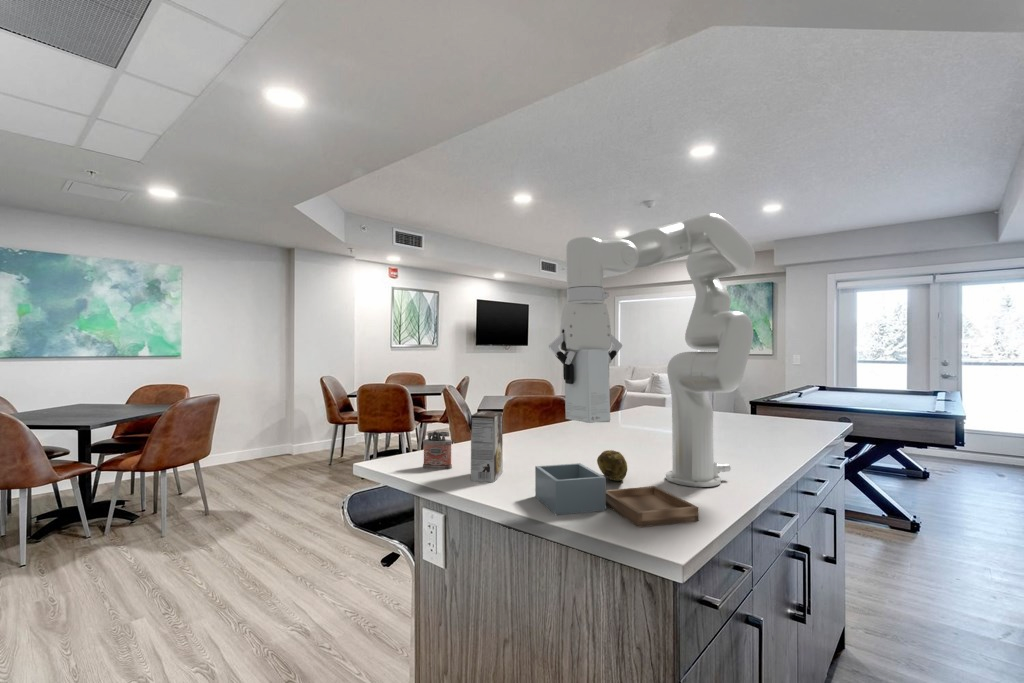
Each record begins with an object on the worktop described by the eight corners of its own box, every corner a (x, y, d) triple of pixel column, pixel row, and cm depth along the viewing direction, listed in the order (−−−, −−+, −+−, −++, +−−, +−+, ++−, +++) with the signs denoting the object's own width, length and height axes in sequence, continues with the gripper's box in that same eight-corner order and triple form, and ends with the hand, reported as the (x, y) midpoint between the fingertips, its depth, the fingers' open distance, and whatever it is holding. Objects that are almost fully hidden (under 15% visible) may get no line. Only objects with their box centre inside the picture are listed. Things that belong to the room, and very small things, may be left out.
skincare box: (610, 422, 96) (612, 349, 97) (587, 424, 93) (588, 348, 94) (584, 417, 103) (585, 349, 104) (562, 418, 100) (563, 348, 101)
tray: (654, 497, 102) (654, 486, 102) (698, 520, 88) (698, 507, 88) (601, 502, 99) (601, 490, 99) (638, 527, 85) (638, 513, 85)
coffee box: (479, 471, 125) (479, 410, 125) (503, 473, 124) (503, 411, 124) (469, 480, 116) (469, 414, 116) (495, 482, 115) (495, 415, 115)
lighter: (421, 468, 128) (421, 431, 129) (425, 465, 132) (425, 429, 132) (449, 469, 127) (449, 432, 127) (453, 466, 130) (453, 430, 131)
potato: (635, 476, 120) (635, 445, 120) (622, 489, 108) (622, 454, 109) (603, 473, 124) (603, 442, 124) (588, 485, 112) (587, 451, 112)
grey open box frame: (580, 492, 106) (580, 463, 107) (605, 510, 94) (605, 477, 94) (535, 496, 104) (535, 466, 104) (555, 515, 91) (555, 481, 92)
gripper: (615, 300, 105) (616, 380, 104) (540, 299, 100) (541, 383, 100) (631, 296, 97) (633, 382, 97) (551, 295, 93) (553, 385, 93)
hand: (586, 382), depth 99 cm, fingers closed on skincare box, 6 cm apart
